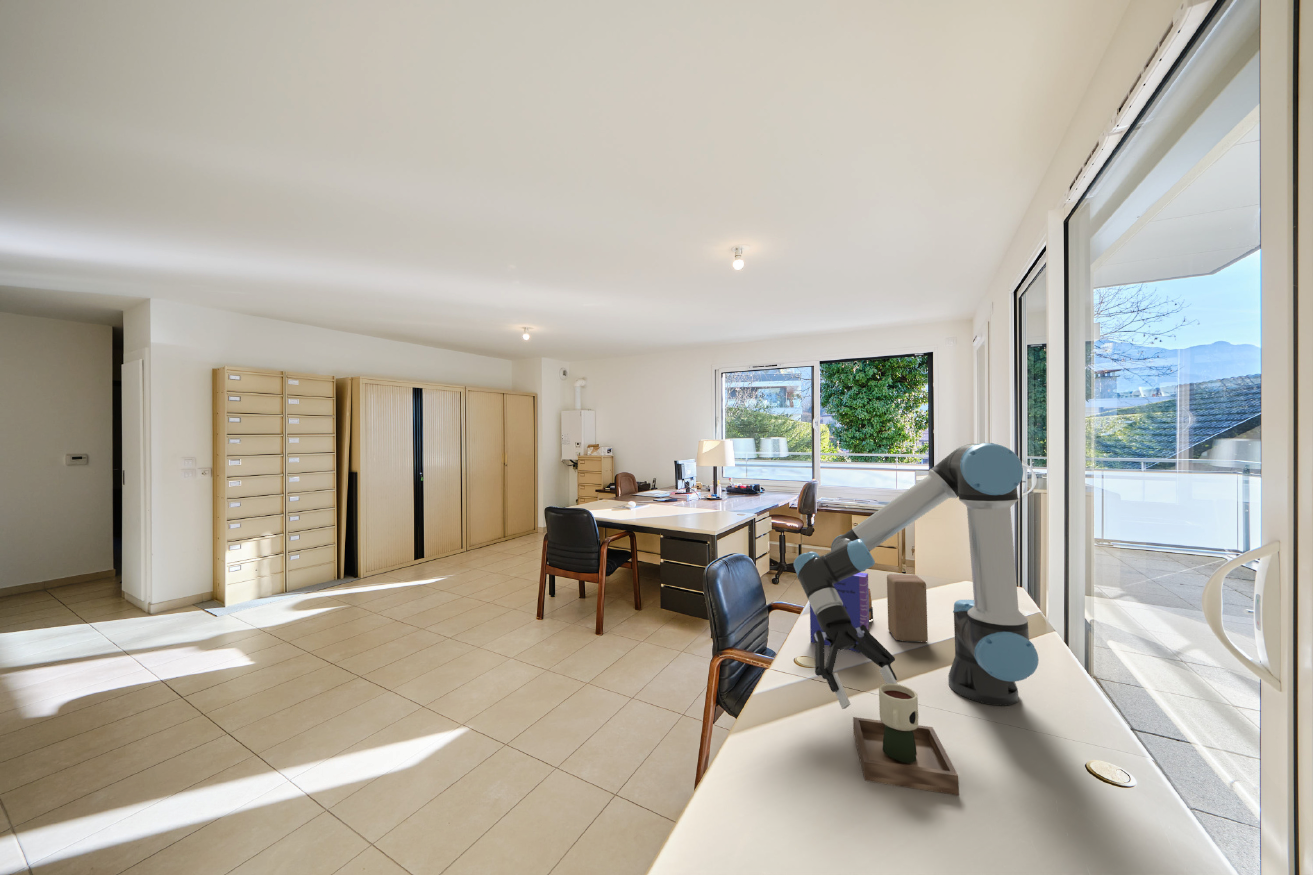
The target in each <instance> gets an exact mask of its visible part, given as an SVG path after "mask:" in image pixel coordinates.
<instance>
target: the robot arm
mask: <svg viewBox="0 0 1313 875" xmlns="http://www.w3.org/2000/svg"><path fill="white" fill-rule="evenodd" d="M1023 477H1024V466H1023V464H1022V461H1021V459H1020V457H1019V456H1018V455H1017V454H1016V453H1015V452H1014V451H1013V450H1011V449H1010V448H1008V447H1006V446H1004V445H1000V444H999V443H993V442H983V443H982V442H981V443H969V444H968V443H967V444H965V445H961V446H959V447H958V448H956V449H955V450H953V451H952V452H951V453H950V454H948V455H947V456H946V457H944V458H943V459H942V460H940V461H939V462H938V463H937V464H936V465H935V466H932V468H930V469H928V474H927V475H926V477H924V478H923V479H921V480H919V482H917V483H915V484H914V485H913V486H912V487H909V488H908V489H907V490H905V491H904V492H903V493H901V494H899V495H898V496H897V497H895V498H893V499H892V500H891V501H890V502H888V503H886V504H885V505H884V506H882V507H881V508H880V509H879V510H877V511H876V512H874V513H873V514H872V515H870V516H868V517H867V518H866V519H864V520H863V521H861V522H860V523H859V524H857V525H855V526H854V527H852V529H850V530H848V531H846V533H844V534H840V535H838V536H836V537H835V538H834V539H833V540H832V542H831V545H830V551H829V552H827V553H825V554H823V555H819V553H817V552H816V551H808V552H804V553H801V554H799V555H798V556H797V557H796V558H795V559H794V561H793V568H794V570H795V573H796V577H797V580H799V583H800V585H801V587H802V590H803V591H804V594H805V595H806V598H807V600H808V601H809V602H808V603H809V606H810V605H811V607H812V609H813V611H814V614H815V615H817V617H816V618H817V621H818V623H819V625H820V627H821V629H822V631H824V632H821V631H820V630H818V631H817V632H816V633H815V634H814V635H813V638H814V641H815V643H814V645H815V646H814V647H815V648H814V652H815V653H814V655H815V656H814V658H815V660H814V665H815V666H814V673H815V675H816V676H817V677H819V676H821V678H822V679H824V680H826V682H827V683H828V687H829V688H830V691H831V692H832V693H835V696H836V697H837V698H836V699H837V700H838V703H839V705H840V707H841V709H842V710H845V709H847V708H848V707H849V706H851V705H852V703H851V701H850V699H849V697H848V695H847V693H846V690H845V688H844V686H843V684H842V681H841V679H840V677H839V675H838V672H835V673H833V672H834V668H835V664H836V661H837V657H838V652H839V651H843V650H844V651H845V649H851V648H853V649H854V650H858V651H859V652H858V653H860V652H861V655H863V656H865V657H866V658H867V659H869V660H870V661H871V662H873V663H874V664H875V665H877V666H878V667H880V669H879V670H878V671H879V673H880V675H881V677H882V678H883V680H884V684H890V683H893V684H898V682H897V681H898V678H897V675H896V674H895V672H894V670H893V668H892V666H891V664H893V663H894V662H895V661H896V657H895V656H894V655H893V654H891V652H890V651H888V649H886V647H884V645H882V644H881V642H880V641H878V640H877V638H875V636H874V635H872V634H871V633H869V631H868V629H867V628H866V626H865V625H861V626H860V627H858V628H854V627H853V625H852V624H851V619H850V616H849V615H848V613H847V611H846V609H845V607H844V606H843V602H842V600H841V598H840V596H839V595H838V593H837V591H836V589H835V587H834V584H835V583H837V582H839V581H841V580H844V579H846V578H848V577H851V576H853V575H855V574H857V573H863V572H865V571H866V570H867V569H870V568H872V567H873V566H874V565H876V562H875V558H873V555H872V554H871V551H872V550H874V549H875V548H877V547H879V546H880V545H881V544H883V543H885V542H886V541H887V540H888V539H890V538H892V537H894V536H895V535H896V534H898V533H899V532H901V531H902V530H904V529H905V528H906V527H908V526H910V525H911V524H913V523H914V522H916V521H918V520H919V519H920V518H922V517H924V515H926V514H927V513H929V512H930V511H932V510H933V509H935V508H936V507H938V506H939V505H941V504H942V503H944V502H945V501H947V500H948V499H958V500H959V501H960V503H962V504H964V505H965V507H966V511H967V512H966V514H967V515H966V516H967V524H968V540H969V550H970V551H969V553H970V566H971V577H972V578H971V580H972V592H973V599H958V600H956V601H955V602H954V603H953V611H952V614H953V624H954V625H953V626H954V628H953V629H954V631H953V632H954V658H953V662H952V664H951V667H950V669H949V671H948V672H949V673H948V676H947V677H948V686H949V687H950V689H951V690H952V691H954V692H955V693H956V694H958V695H959V696H962V697H964V698H966V699H969V700H972V701H973V702H977V703H978V702H979V703H981V704H987V705H991V706H1011V705H1014V704H1017V703H1018V702H1017V701H1019V689H1018V686H1017V683H1016V682H1021V681H1024V680H1026V679H1027V678H1028V677H1030V676H1032V675H1033V674H1034V673H1035V672H1036V670H1037V668H1038V666H1039V654H1038V652H1037V649H1036V647H1035V645H1034V644H1033V642H1032V641H1031V640H1030V631H1029V620H1028V618H1027V617H1026V616H1025V614H1023V613H1022V612H1021V611H1020V610H1019V599H1018V586H1017V585H1018V584H1017V573H1016V562H1015V561H1016V560H1015V559H1016V558H1015V550H1014V549H1015V548H1014V547H1015V546H1014V536H1013V522H1012V511H1011V507H1012V506H1013V505H1015V504H1016V503H1017V502H1018V501H1019V497H1018V496H1019V495H1018V487H1019V485H1020V484H1021V482H1022V480H1023ZM857 634H858V636H857ZM860 637H861V638H860ZM825 639H826V640H827V641H828V642H830V646H828V647H829V648H828V654H827V658H825V654H826V652H825V645H824V640H825ZM856 642H858V643H857V644H856ZM864 642H865V643H864ZM825 659H826V662H825Z"/></svg>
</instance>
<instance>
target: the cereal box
mask: <svg viewBox="0 0 1313 875" xmlns="http://www.w3.org/2000/svg"><path fill="white" fill-rule="evenodd" d="M834 587H835V589H836V591H837V593H838V595H839V596H840V598H841V600H842V602H843V606H844V607H845V609H846V611H847V613H848V615H849V616H850V619H851V624H852V625H853V627H854V628H858V627H860V626H861V625H865V626H866V628H867V629H868V631H869V633H870V631H871V630H870V629H871V628H870V623H869V590H868V589H869V573H867V572H865V573H864V572H860V573H857V574H855V575H853V576H851V577H848V578H846V579H844V580H841V581H839V582H837V583H835V584H834ZM816 617H817V615H815V614H814V611H813V609H812V607H811V605H810V604H809V627H810V630H809V634H810V636H809V637H810V643H812V644H815V641H814V638H813V635H814V634H815V633H816V632H817V631H818V630H820V631H821V632H824V631H822V629H821V627H820V625H819V623H818V621H817V618H816ZM870 634H871V633H870ZM857 636H858V634H857ZM860 638H861V637H860ZM857 643H858V642H856V644H857ZM864 643H865V642H864ZM825 646H826V647H830V642H828V641H827V640H826V639H825V640H824V647H825ZM845 650H846V651H851V652H855V651H856V652H857V653H861V652H859V651H858V650H854V649H853V648H851V649H844V651H845ZM861 654H862V653H861Z"/></svg>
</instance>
